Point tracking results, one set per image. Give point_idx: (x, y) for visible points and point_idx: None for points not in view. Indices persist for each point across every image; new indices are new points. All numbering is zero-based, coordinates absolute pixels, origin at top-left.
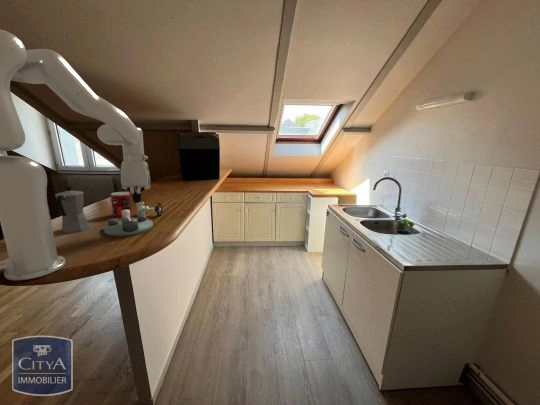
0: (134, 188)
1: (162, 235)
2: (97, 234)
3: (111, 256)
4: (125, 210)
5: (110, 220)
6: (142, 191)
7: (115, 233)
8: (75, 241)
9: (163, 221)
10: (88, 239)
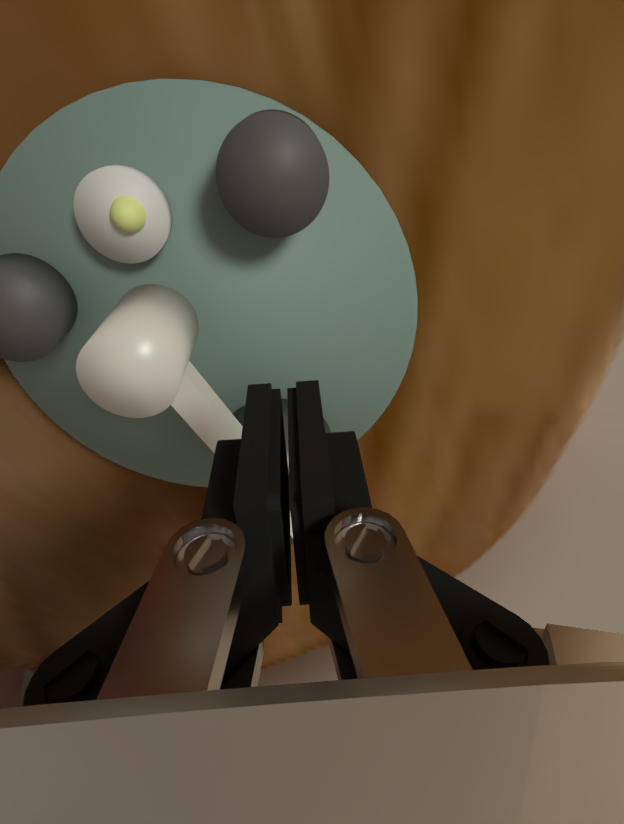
0: (211, 649)
1: (498, 467)
2: (43, 430)
3: (308, 635)
4: (125, 376)
5: (3, 343)
6: (421, 563)
7: (197, 482)
8: (9, 519)
9: (505, 87)
10: (60, 499)
